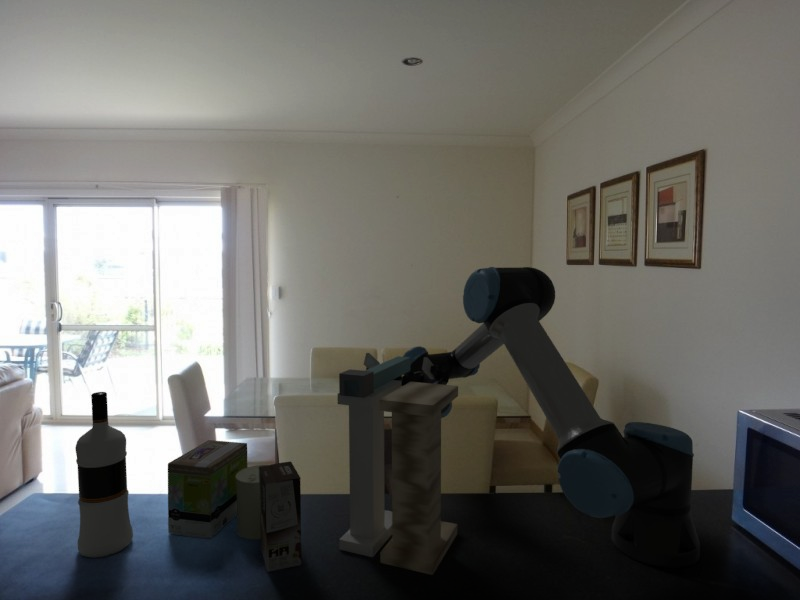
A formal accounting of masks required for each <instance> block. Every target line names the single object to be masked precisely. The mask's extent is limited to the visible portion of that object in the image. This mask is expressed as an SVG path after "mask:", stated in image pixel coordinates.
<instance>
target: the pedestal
mask: <svg viewBox="0 0 800 600" xmlns="http://www.w3.org/2000/svg"><path fill="white" fill-rule="evenodd" d="M458 397H459V385H451V384H446V385H442V384H431V383H420V382H409V383H407V384H406V385H404V386H401V387H400V388H399V389H397V390H395V391H393V392H392V393H390V394H388V395H387V396H385V397H383V398H381V399H380V400H379V411H384V412H385V413H386V412H387V413H391V495H392V496H391V501H392V502H391V509H392V510H391V511H392V535H391V538H390V539H389V541H388V542H387V543H386V545H385V546H384V547H383V549H382V548H381V550H380V551H379V553H380V554H379V555H380V557H379V558H380V560H379V561H380V563H381V564H384V565H389V566H393V567H397V568H401V569H405V570H409V571H414V572H417V573H422V574H426V575H431V576H433V575H434V574H435V573H436V571H437V569H438V567H439V566H440V564H441V562H442V560H443V559H444V557H445V555H446V554H447V552H448V550H449V549H450V547H451V545H452V544H453V543H454V540H456V537H457V536H458V524H457V523H453V522H447V521H443V520H442V418H441V410H442V409H443V408H444V407H446V406H447V405H448V404H449V403H450V402H452V403H453V401H454V400H455V399H457V398H458Z"/></svg>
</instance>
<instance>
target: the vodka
mask: <svg viewBox="0 0 800 600" xmlns="http://www.w3.org/2000/svg"><path fill="white" fill-rule="evenodd" d="M90 396H91V416H92V417H91V419H92V427H91V428H90V429H89V430H88V431H86V432H85V433H84V434H82V435H81V436H80V437H79V438H78V439H77V441H76V444H75V447H74V448H75V454H76V455H75V456H76V459H75V460H76V462H75V463H76V465H77V479H78V480H77V481H78V483H77V484H78V501H77V502H78V503H77V504H78V506H79V533H78V538H77V551H78V552H79V554H80V555H81V556H84V557H87V558H95V559H96V558H103V557H108V556H111V555H114V554H116V553H117V554H118V553H119V552H121V551H123V550H124V549H125V548H126V547H127V546H129V545H130V544H131V542H132V540H133V539H134V533H133V532H134V531H133V526H132V524H131V519H130V511H129V503H128V502H129V493H130V492H129V490H128V480H127V479H128V478H127V476H128V475H127V453H128V452H127V438H126V434H124V433H123V432H122V431H121V430H119V429H117V428H115V427H112V426H110V424H109V415H108V414H109V412H108V408H109V407H108V393H107V392H106V391H97V392H94V393H92V394H90Z"/></svg>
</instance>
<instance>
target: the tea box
mask: <svg viewBox="0 0 800 600" xmlns="http://www.w3.org/2000/svg"><path fill="white" fill-rule="evenodd" d="M248 467H249V466H248V443H246V442H240V441H239V442H237V441H236V442H235V441H225V440H211V439H208V440H206V441H205V442H202V443H201V444H200V445H198V446H196V447H194V448H192V449H191V450H189V451H187V452H186V453H183V454H182V455H180V456H178V457H177V458H175V459H173V460H171V461H169V462H168V464H167V512H168V513H167V517H168V518H167V524H168V525H167V527H168V529H167V530H168V531H167V532H168V534H171V535H176V536H184V537H192V538H198V539H199V538H200V539H212V538H213V537H214V536H215V535H216V534H217V533H218V532H219V531H220V530H222V529H223V528H224V527H225V526H226V525H227V524H229V522H230V521H232V520H233V519H235V517H237V490H236V474H237V473H238V472H239V471H241V470H242V469H245V468H248Z"/></svg>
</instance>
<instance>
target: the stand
mask: <svg viewBox="0 0 800 600" xmlns="http://www.w3.org/2000/svg"><path fill="white" fill-rule="evenodd" d="M400 387H402V386H401V381H398V380H391V381H390V382H388V383H386V384H384V385H382V386H380V387H378V388H376V389H374V393H372V394H370V395H369V396H367V397H365V398H360V397H351V396H342V395H339V392H338V393H337V394H336V395H337V405H341V406H342V405H343V406H348V439H349V440H348V447H349V449H348V450H349V451H348V453H349V455H348V456H349V457H348V458H349V459H348V460H349V529H348V530H347V531H346V532H345V533H344V534H343V535H342V536H341V537H340V538H339V539H338V540H339V542H338V543H339V546H338V547H339V550H340V551H343V552H349V553H353V554H356V555H361V556H365V557H368V558H369V557H370V558H374V557H375V556H376V554H377V553H378V552H380V550H381V549H382V547H383V546H384V545H385V544H386V542H387V541H388V540H390V539H391V537H392V510H386V508H385V411H379V400H380V399H381V398H383V397H385V396H387V395H388V394H390V393H392V392H393V391H395V390H397V389H399V388H400Z"/></svg>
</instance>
